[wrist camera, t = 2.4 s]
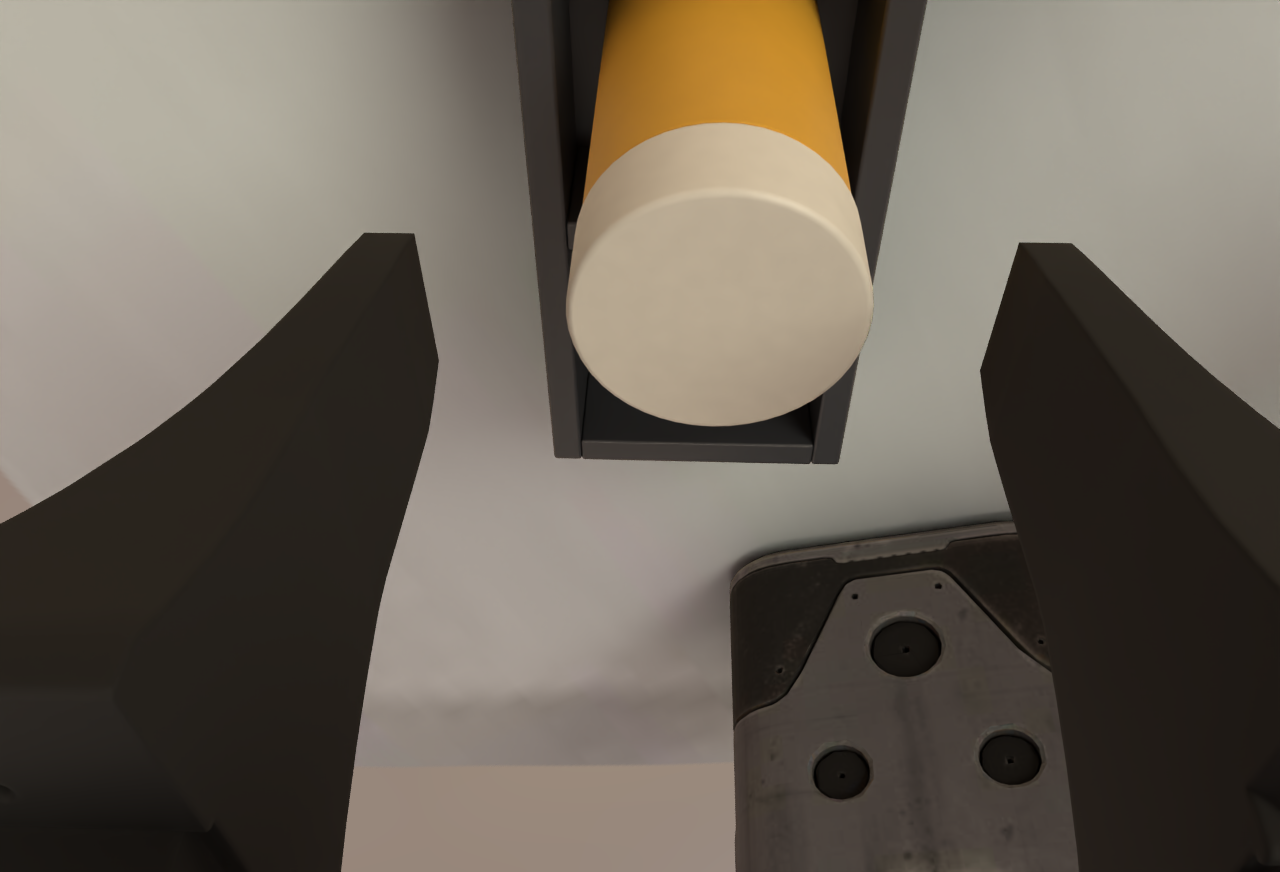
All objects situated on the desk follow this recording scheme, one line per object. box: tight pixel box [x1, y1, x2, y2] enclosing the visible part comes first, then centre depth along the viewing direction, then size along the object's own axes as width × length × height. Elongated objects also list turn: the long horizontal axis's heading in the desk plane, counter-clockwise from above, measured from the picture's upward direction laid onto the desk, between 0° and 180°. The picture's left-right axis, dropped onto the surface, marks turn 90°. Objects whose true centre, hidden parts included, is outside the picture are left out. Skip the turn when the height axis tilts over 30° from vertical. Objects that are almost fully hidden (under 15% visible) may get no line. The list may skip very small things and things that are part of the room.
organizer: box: [511, 0, 927, 464], centre depth 20 cm, size 6×12×3 cm, turn 0°
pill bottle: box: [566, 0, 874, 426], centre depth 16 cm, size 4×4×8 cm
